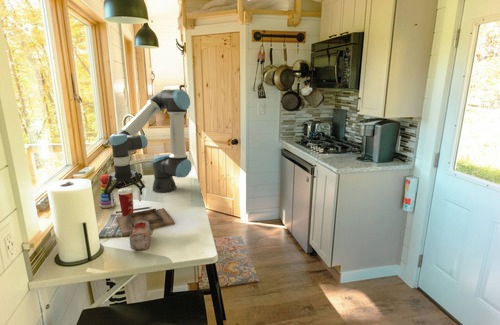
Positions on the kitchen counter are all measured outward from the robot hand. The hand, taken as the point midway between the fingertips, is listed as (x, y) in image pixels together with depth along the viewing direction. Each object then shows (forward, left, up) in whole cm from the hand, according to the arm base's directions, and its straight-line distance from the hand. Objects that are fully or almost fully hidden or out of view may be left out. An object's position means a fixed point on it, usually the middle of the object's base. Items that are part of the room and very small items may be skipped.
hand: (126, 203), depth 159 cm
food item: (0, +37, -7) cm, 38 cm away
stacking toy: (+8, -19, -7) cm, 22 cm away
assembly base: (-6, +15, -6) cm, 17 cm away
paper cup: (0, 0, -7) cm, 7 cm away
